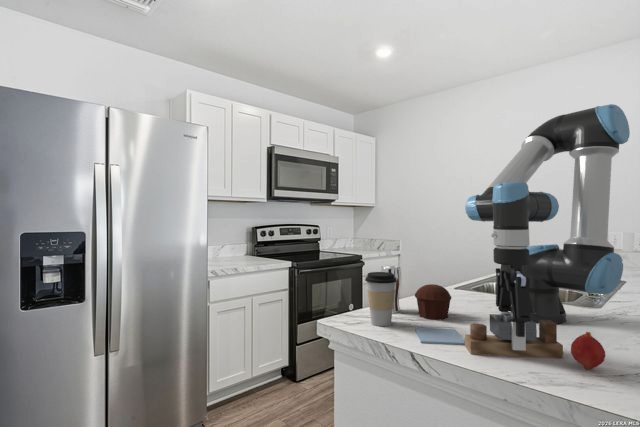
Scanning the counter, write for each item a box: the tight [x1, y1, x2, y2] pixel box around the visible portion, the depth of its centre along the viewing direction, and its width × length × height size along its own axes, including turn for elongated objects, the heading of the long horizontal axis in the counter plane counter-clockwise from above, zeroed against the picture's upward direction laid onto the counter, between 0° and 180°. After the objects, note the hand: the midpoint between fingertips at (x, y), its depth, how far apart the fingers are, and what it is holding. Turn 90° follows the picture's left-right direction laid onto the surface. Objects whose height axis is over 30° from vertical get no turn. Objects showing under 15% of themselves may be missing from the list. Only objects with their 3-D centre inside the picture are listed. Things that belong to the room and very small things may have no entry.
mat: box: [414, 327, 465, 346], centre depth 95 cm, size 11×11×1 cm
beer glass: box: [380, 265, 402, 314], centre depth 121 cm, size 7×7×15 cm
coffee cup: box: [364, 271, 396, 327], centre depth 107 cm, size 9×9×15 cm
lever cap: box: [489, 313, 538, 341], centre depth 84 cm, size 8×6×5 cm
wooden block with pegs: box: [464, 320, 564, 359], centre depth 84 cm, size 20×5×8 cm, turn 82°
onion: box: [570, 331, 606, 371], centre depth 74 cm, size 6×6×8 cm
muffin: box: [414, 283, 453, 321], centre depth 114 cm, size 12×11×10 cm
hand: (512, 343), depth 84 cm, fingers closed on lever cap, 6 cm apart
